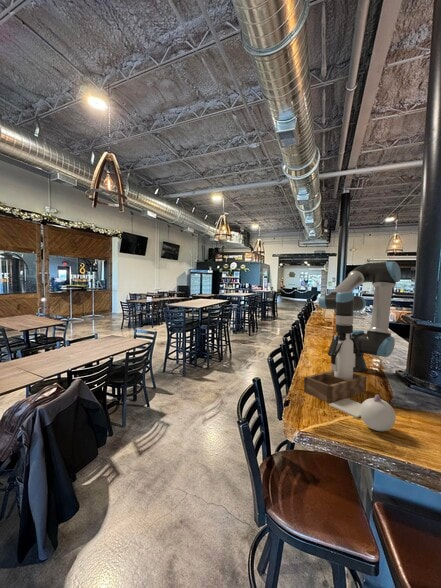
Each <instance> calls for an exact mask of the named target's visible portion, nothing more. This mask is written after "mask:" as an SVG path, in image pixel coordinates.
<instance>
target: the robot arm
mask: <svg viewBox="0 0 441 588" xmlns="http://www.w3.org/2000/svg"><path fill="white" fill-rule="evenodd" d="M401 278H402V272H401V268H400V265H399V264H398V263H397V262H396V261H387V260H386V261H381V262H380V261H379V262H377V261H376V262H367V263H364V264H361V265H359V266H357V267H355V268H353V270H351V271H349V273H348V274H347V277H346V278H345V279H343V281H342V282H340V283H339V284H338V285H337V286H336V287H335V288H334V289H333V290H332V291H331V292H330V293H328V294H322V295H320V296H319V299H318V306H319V308H320V309H325V310H335V332H336V333H337V334H336V335H335V334H333V335H332V339H331V343H330V346H329V349H328V352H327V356H329V357H330V363H331V365H330V367H331V368H330V371H332V370H333V371H336V372H337V366H338V357H336V356H337V354H338V352H339V350H340V348H341V345H342V343H343V342H342V343H338V341H339V340H340V341H342V340H343V341H344V340H346V334H350V338H349V339H351V340H352V341H353V373H365V372H367V369H368V366H367V363H366V360H365V357H364V355H371V356H376V357H378V358H379V357H380V358H381V357H384V358H388V357H390V356H391V355H392V353H394V349H395V344H396V342H395V337H393V336H392V333H391V332H390V330H389V325H390V314H391V306H392V305H391V304H392V294H393V289H394V287H396V285H397V283H398V282H400V281H401ZM364 283H371V284H372V286H373V287H374V291H373V301H372V303H373V304H372V309H371V311H372V312H371V319H370V320H371V321H370V322H371V323H370V328H368V329H367V330H366V333H365V331H364V330H363V329H354V326H353V324H354V312H360V311H362V310H364V309H365V308H366V305H367V301H366V299H365V298H364V297H363V296H361V295H354V293H353V291H354V290H355V289H356V288H357V287H359V286H361V285H363V284H364ZM343 338H344V339H343Z"/></svg>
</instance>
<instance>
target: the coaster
mask: <svg viewBox="0 0 441 588" xmlns="http://www.w3.org/2000/svg"><path fill="white" fill-rule="evenodd" d="M361 405H362V403H361V402H358V401H356V400H353V399H350V398H349V397H348V398H345V399H342V400H339V401H336V402H333V403H328V406H329V407H331V408H332V409H333V408H334V409H336V410H339V411H341V412H342V413H345V414H347V415H349V416H351V417H353V418H355V419H357V418H360V417H361V415H360V407H361Z"/></svg>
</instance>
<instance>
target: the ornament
mask: <svg viewBox="0 0 441 588" xmlns="http://www.w3.org/2000/svg"><path fill="white" fill-rule="evenodd" d="M361 404H362V405H361V407H360V415H361V416H360V417H361V420H362V422H363V424H364V425H366V426H367V427H368V428H369V429H371V430H373V431H376V432H377V431H378V432H387V431H389V430H392V428H393V426H394V425H395V423H396V418H397V416H396V413H395V410H394V409H393V407H392V406H391V405H390V403H388V402H387V401H386V400H383V399H382V398H381V397H380V395H379V394H375V395H374V397H370V398H367V399H365V400H364V401H362V403H361Z"/></svg>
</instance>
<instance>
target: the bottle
mask: <svg viewBox="0 0 441 588" xmlns="http://www.w3.org/2000/svg"><path fill="white" fill-rule="evenodd" d="M349 338H350V334H346V340H344V341H343V340H342V341H340V340H339V341H338V343H342V342H343V343H342V345H341V348H340V350H339V352H338V354H337V356H336V357H338V366H337V372H336V371H334V376H335V377H338V378H341V379H344V380H350V379H353V373H354V372H353V341H352V340H351V339H349ZM343 339H344V338H343Z"/></svg>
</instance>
